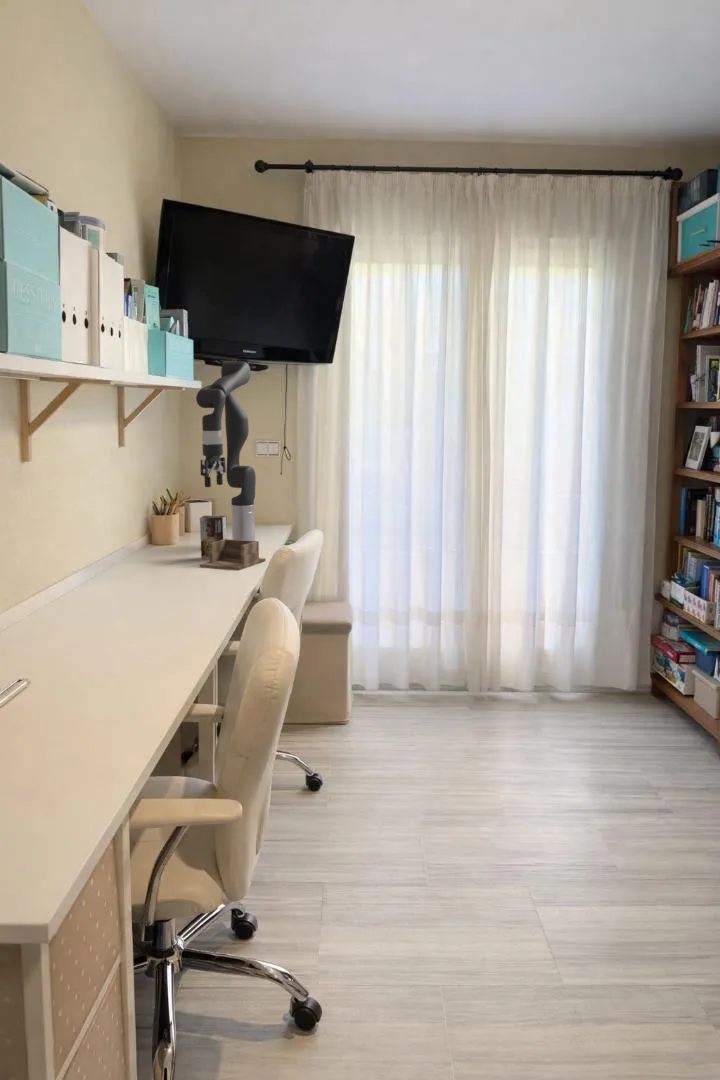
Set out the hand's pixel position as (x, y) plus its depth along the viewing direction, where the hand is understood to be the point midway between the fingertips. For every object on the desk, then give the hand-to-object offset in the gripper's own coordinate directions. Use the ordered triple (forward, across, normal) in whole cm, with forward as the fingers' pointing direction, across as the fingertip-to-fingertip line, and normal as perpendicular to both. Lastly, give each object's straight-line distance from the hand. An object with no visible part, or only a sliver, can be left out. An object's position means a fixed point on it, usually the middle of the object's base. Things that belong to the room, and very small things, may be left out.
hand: (213, 485), depth 339 cm
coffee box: (+28, 0, 0) cm, 28 cm away
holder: (+28, +9, +13) cm, 32 cm away
